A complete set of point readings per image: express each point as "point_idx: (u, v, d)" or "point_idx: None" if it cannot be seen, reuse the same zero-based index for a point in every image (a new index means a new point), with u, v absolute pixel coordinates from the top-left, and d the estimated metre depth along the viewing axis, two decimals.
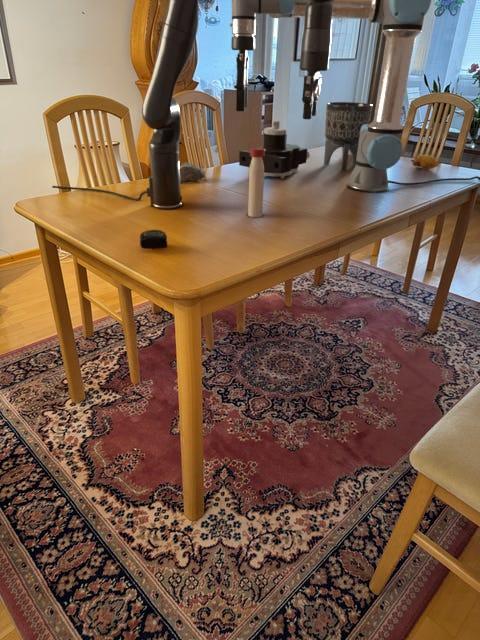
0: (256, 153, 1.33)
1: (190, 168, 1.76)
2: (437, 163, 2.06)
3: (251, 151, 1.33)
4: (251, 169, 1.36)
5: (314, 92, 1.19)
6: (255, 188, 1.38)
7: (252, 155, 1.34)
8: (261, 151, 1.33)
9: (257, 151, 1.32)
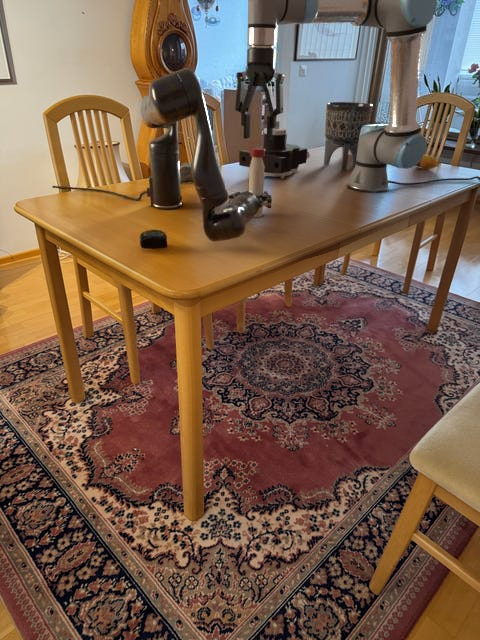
0: (256, 153, 1.33)
1: (190, 168, 1.76)
2: (437, 163, 2.06)
3: (251, 151, 1.33)
4: (251, 169, 1.36)
5: None
6: (255, 188, 1.38)
7: (252, 155, 1.34)
8: (261, 151, 1.33)
9: (257, 151, 1.32)
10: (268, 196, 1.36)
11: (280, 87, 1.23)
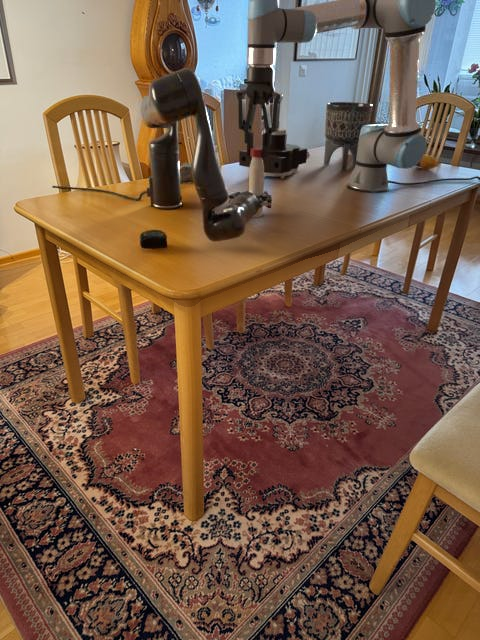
0: (256, 153, 1.33)
1: (190, 168, 1.76)
2: (437, 163, 2.06)
3: (251, 151, 1.33)
4: (251, 169, 1.36)
5: None
6: (255, 188, 1.38)
7: (252, 155, 1.34)
8: (261, 151, 1.33)
9: (257, 151, 1.32)
10: (268, 196, 1.36)
11: (277, 106, 1.25)
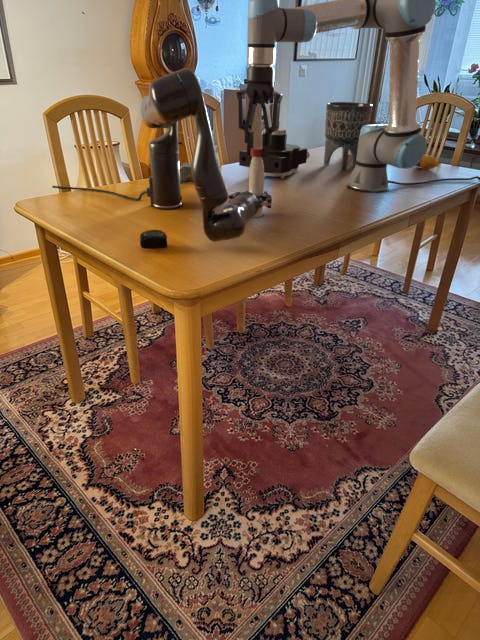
0: None
1: (190, 168, 1.76)
2: (437, 163, 2.06)
3: None
4: (251, 169, 1.36)
5: None
6: (255, 188, 1.38)
7: None
8: None
9: None
10: (268, 196, 1.36)
11: (277, 106, 1.25)
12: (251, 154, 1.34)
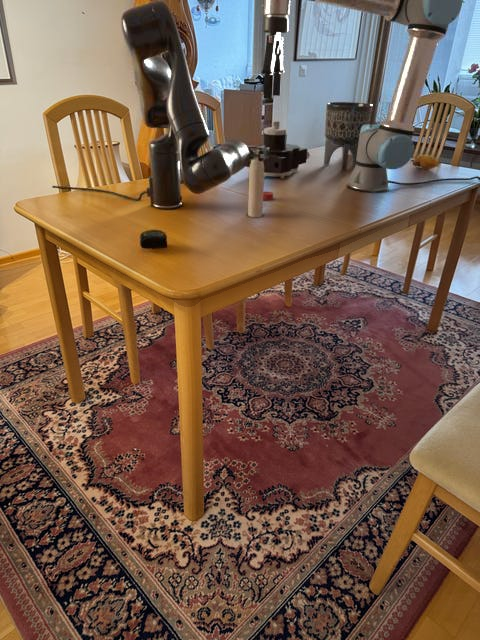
0: (270, 197, 1.59)
1: None
2: (437, 163, 2.06)
3: (265, 196, 1.58)
4: (251, 169, 1.36)
5: None
6: (255, 188, 1.38)
7: (267, 199, 1.59)
8: (272, 194, 1.60)
9: (271, 195, 1.59)
10: (264, 148, 1.17)
11: None
12: None
